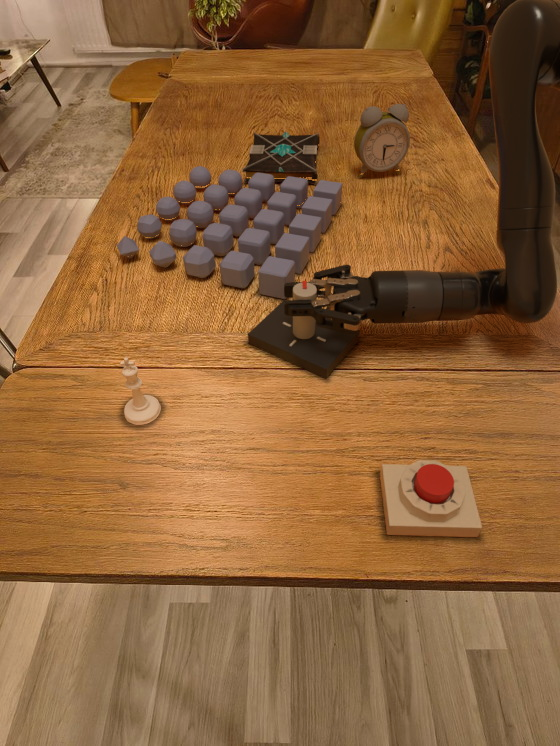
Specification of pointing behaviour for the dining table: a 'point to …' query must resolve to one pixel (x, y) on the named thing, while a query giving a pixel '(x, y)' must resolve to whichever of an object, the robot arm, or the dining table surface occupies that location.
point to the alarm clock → (382, 138)
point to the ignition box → (428, 504)
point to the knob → (304, 324)
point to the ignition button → (433, 483)
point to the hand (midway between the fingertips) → (284, 299)
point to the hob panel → (302, 343)
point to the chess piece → (138, 398)
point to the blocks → (242, 227)
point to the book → (283, 156)
